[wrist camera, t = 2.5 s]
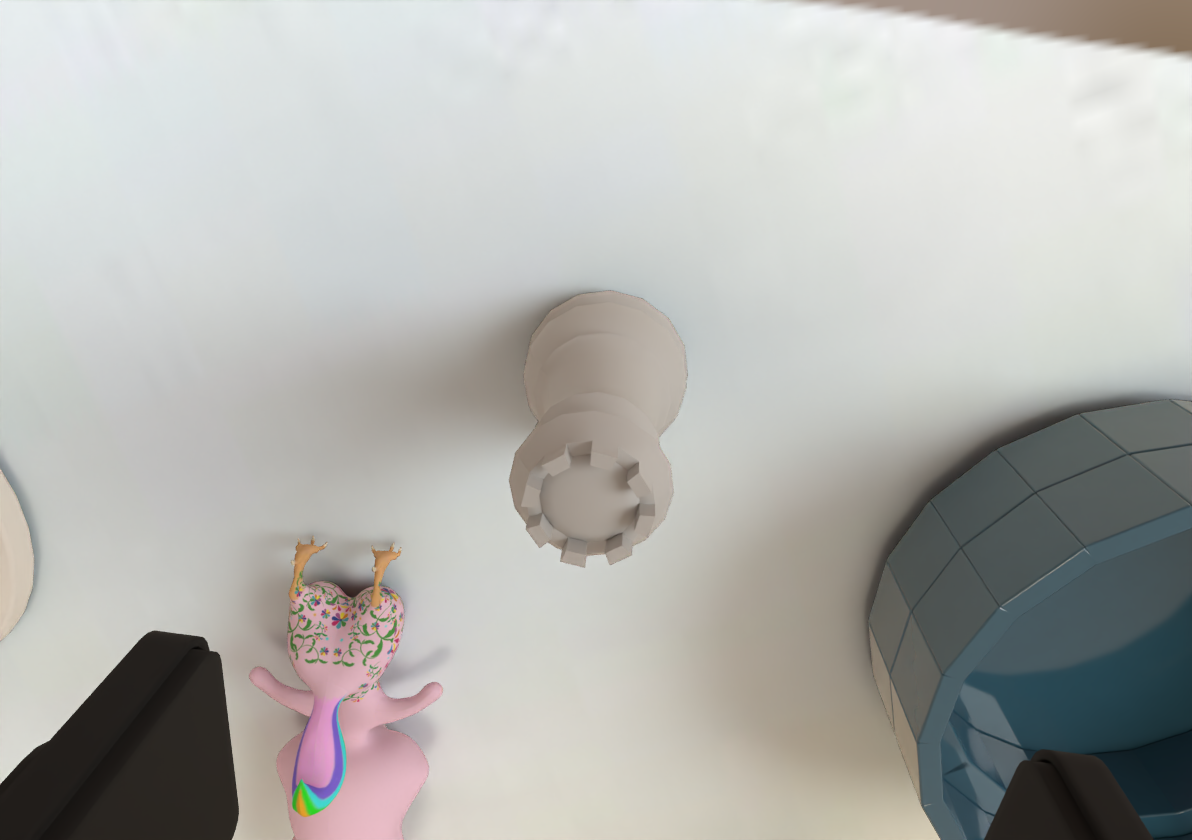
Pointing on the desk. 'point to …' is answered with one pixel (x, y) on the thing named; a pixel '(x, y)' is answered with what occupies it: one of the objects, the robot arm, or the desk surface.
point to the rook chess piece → (598, 425)
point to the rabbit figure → (346, 711)
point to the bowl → (1048, 619)
